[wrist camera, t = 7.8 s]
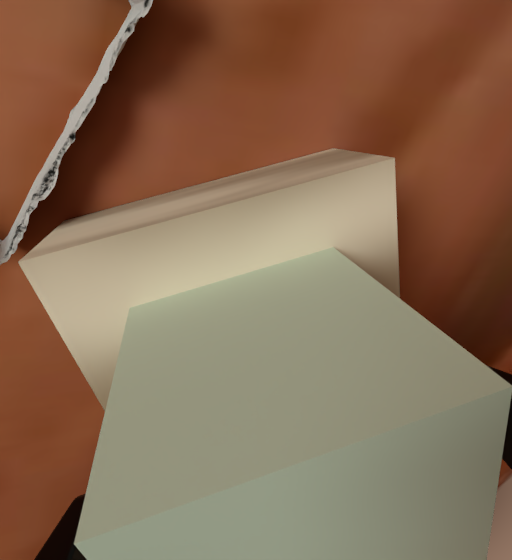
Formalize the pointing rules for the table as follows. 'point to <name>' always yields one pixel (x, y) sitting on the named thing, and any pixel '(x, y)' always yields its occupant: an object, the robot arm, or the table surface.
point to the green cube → (294, 427)
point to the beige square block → (209, 244)
